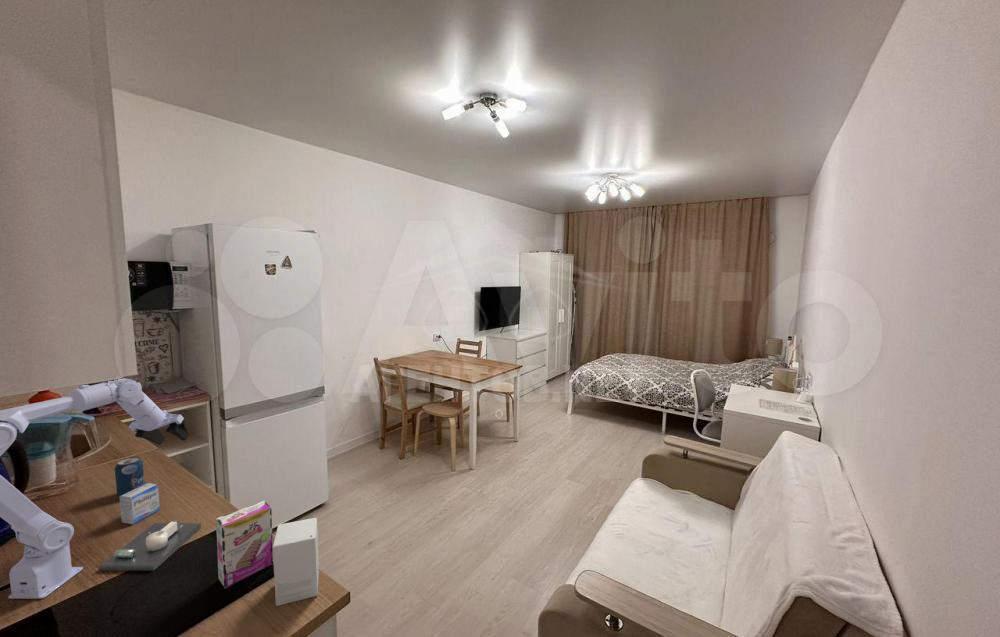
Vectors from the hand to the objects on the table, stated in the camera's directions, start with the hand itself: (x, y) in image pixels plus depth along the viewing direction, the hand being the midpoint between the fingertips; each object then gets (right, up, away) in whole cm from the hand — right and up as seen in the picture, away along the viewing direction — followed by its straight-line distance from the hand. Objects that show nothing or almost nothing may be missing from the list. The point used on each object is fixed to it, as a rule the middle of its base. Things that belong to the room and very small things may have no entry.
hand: (174, 439), depth 124 cm
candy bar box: (+35, -28, -20) cm, 49 cm away
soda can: (-24, -22, +12) cm, 35 cm away
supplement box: (+50, -29, -25) cm, 63 cm away
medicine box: (-11, -24, +1) cm, 26 cm away
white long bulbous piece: (+7, -24, -12) cm, 28 cm away
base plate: (+5, -26, -13) cm, 29 cm away
